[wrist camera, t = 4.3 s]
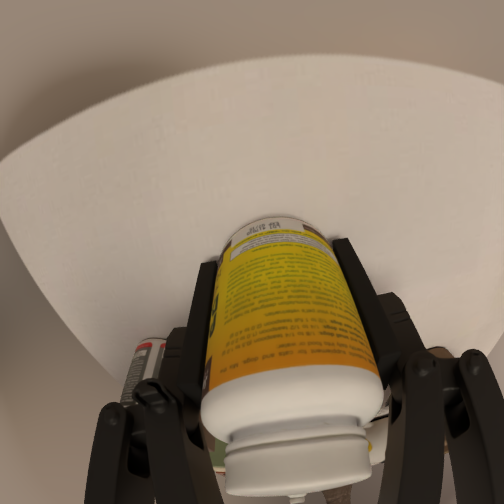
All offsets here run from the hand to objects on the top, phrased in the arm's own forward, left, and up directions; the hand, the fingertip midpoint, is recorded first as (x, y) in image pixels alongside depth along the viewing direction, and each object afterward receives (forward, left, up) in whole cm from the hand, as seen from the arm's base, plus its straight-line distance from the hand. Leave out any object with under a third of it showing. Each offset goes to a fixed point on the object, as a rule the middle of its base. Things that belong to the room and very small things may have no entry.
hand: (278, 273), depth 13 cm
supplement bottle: (0, 0, 0) cm, 1 cm away
